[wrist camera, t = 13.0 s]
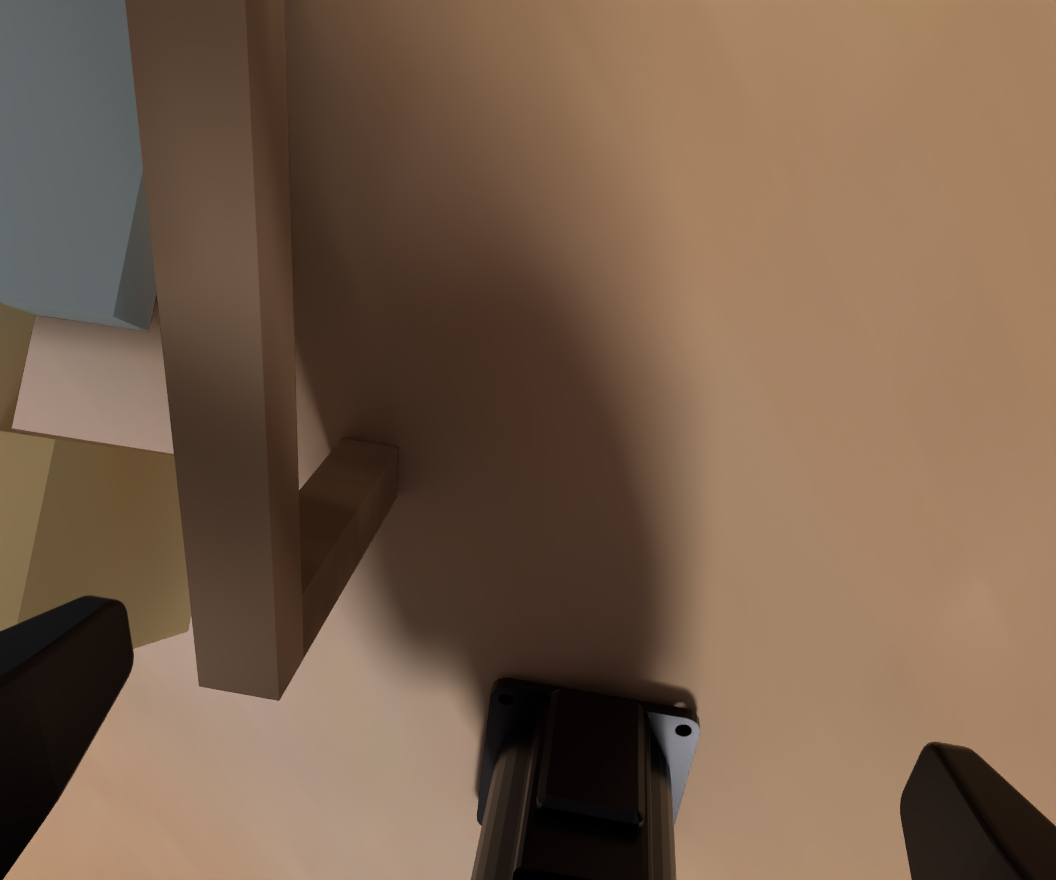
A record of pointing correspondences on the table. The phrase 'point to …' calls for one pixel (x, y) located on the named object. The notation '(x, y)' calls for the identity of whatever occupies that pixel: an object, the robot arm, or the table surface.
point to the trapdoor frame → (240, 345)
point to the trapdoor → (77, 319)
